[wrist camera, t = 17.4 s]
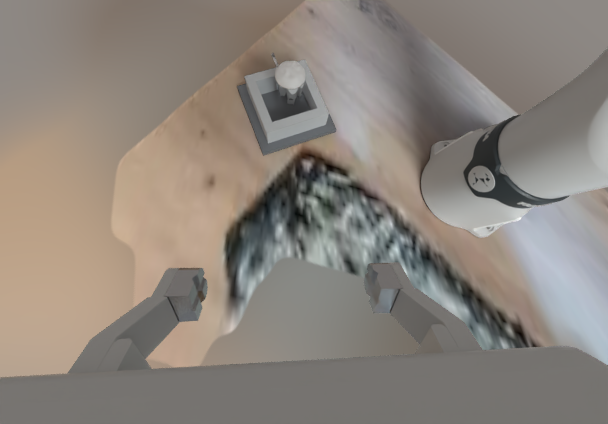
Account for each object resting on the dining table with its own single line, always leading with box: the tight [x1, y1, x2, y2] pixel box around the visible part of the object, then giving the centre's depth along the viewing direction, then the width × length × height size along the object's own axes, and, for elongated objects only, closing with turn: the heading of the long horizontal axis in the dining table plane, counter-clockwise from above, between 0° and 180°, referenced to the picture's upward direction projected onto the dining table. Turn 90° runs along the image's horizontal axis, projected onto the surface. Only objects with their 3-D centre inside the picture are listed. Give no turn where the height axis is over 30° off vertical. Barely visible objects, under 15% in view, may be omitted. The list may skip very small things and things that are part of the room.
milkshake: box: [271, 53, 306, 116], centre depth 38 cm, size 4×5×10 cm
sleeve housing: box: [237, 60, 336, 156], centre depth 41 cm, size 14×14×4 cm
